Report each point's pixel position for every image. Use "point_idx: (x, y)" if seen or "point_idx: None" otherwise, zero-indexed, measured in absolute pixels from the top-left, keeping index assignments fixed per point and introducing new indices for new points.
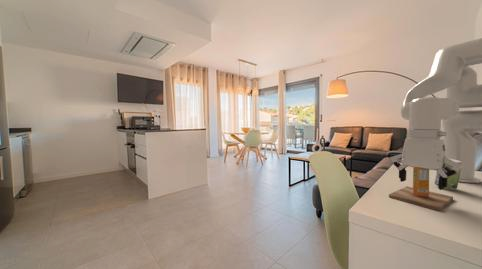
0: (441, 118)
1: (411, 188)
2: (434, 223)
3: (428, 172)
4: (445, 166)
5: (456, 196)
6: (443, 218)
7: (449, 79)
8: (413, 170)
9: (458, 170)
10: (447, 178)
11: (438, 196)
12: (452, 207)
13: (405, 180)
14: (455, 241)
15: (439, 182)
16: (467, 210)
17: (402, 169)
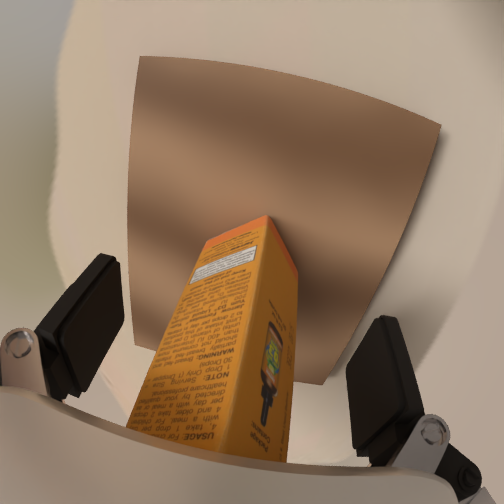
0: None
1: (177, 96)
2: (295, 438)
3: (281, 458)
4: None
5: (452, 15)
6: (322, 410)
7: None
8: (138, 411)
9: (480, 493)
10: (421, 414)
11: (356, 197)
12: (389, 293)
13: (120, 272)
14: (318, 463)
15: (353, 412)
16: (436, 289)
17: (61, 391)
